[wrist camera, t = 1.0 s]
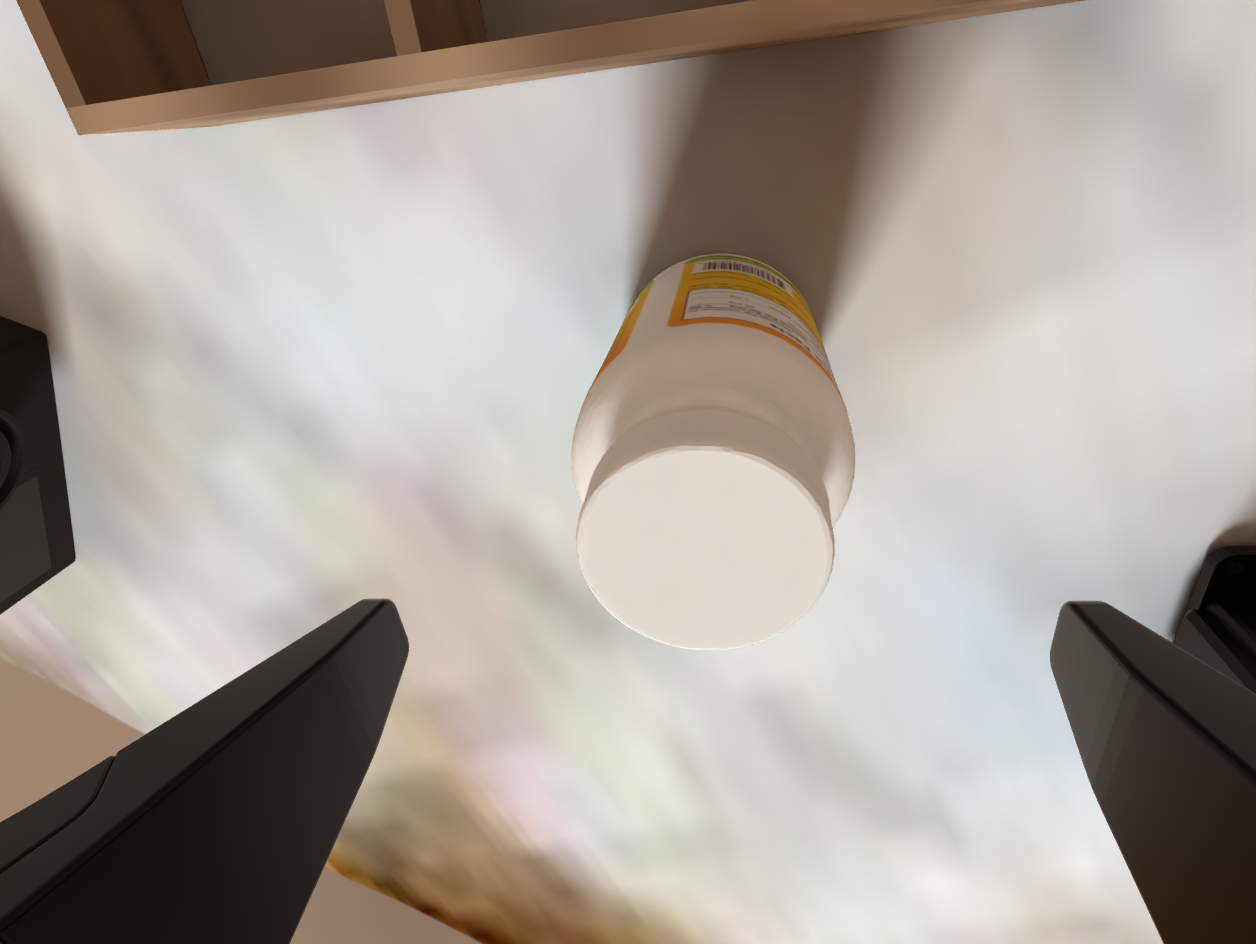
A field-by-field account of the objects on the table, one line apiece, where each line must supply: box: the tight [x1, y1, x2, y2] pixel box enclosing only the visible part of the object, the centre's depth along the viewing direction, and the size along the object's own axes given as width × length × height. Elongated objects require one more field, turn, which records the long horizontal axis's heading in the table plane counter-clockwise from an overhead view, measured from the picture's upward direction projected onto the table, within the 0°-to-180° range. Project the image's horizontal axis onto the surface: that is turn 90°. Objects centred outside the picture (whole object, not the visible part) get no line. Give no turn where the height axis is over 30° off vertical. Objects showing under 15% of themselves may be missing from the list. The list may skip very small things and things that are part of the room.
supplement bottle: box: [572, 253, 855, 650], centre depth 14 cm, size 5×5×10 cm
